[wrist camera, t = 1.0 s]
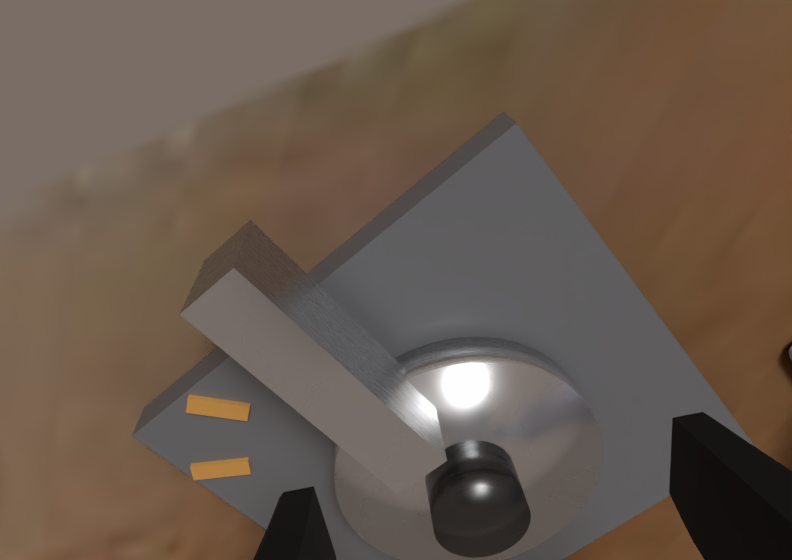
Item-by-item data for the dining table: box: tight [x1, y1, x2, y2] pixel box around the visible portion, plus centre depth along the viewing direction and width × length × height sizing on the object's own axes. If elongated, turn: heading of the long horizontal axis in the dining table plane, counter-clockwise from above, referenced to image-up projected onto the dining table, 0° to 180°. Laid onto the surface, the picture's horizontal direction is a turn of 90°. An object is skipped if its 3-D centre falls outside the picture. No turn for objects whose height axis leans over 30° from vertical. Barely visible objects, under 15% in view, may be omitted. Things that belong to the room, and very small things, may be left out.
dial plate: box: [132, 112, 753, 560], centre depth 23 cm, size 16×18×2 cm
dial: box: [180, 220, 603, 560], centre depth 19 cm, size 16×9×4 cm, turn 40°
